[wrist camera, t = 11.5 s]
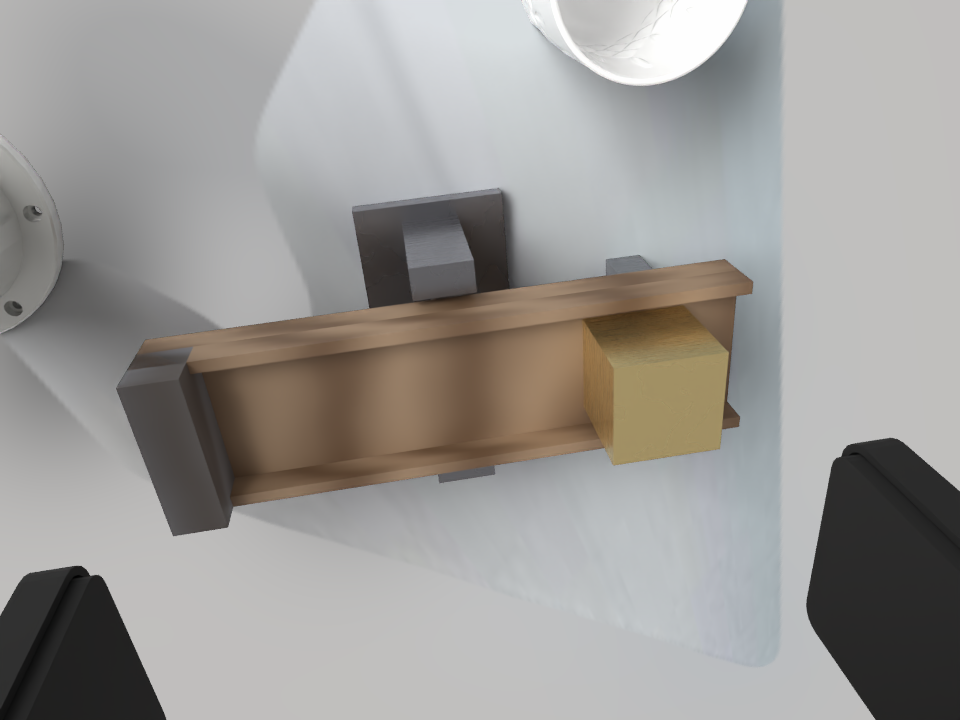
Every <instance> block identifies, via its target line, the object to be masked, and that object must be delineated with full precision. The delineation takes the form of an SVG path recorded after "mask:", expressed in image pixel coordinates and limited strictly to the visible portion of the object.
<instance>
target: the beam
mask: <svg viewBox="0 0 960 720" xmlns="http://www.w3.org/2000/svg"><path fill="white" fill-rule="evenodd" d="M752 288H753V281H752V280H750V279H749V278H748V277H747V276H745V275H744V274H743V273H741V272H740V271H739V270H738V269H736V268H735V267H734V266H733V265H731V264H730V263H729V262H728V261H726V260H725V259H723V260H716V261H709V262H701V263H694V264H687V265H680V266H673V267H665V268H658V269H651V270H644V271H637V272H629V273H622V274H615V275H608V276H601V277H593V278H586V279H579V280H572V281H565V282H558V283H550V284H543V285H536V286H529V287H522V288H514V289H507V290H500V291H493V292H486V293H478V294H471V295H464V296H456V295H455V296H447V297H440V298H433V299H431V300H428V301H421V302H414V303H407V304H399V305H392V306H385V307H378V308H371V309H363V310H356V311H349V312H342V313H335V314H327V315H320V316H313V317H306V318H299V319H291V320H285V321H278V322H270V323H263V324H256V325H248V326H241V327H234V328H227V329H220V330H212V331H205V332H198V333H191V334H184V335H176V336H169V337H162V338H155V339H148V340H145V341H144V343H143V344H142V346H141V348H140V349H139V351H138V353H137V354H136V356H135V358H134V359H133V361H132V363H131V364H130V366H129V368H128V369H127V371H126V373H125V374H124V376H123V378H122V379H121V381H120V383H119V384H118V386H117V388H116V389H117V392H118V394H119V397H120V400H121V402H122V405H123V407H124V410H125V413H126V415H127V418H128V420H129V423H130V426H131V428H132V431H133V433H134V436H135V438H136V441H137V444H138V446H139V449H140V451H141V454H142V457H143V459H144V462H145V464H146V467H147V470H148V472H149V475H150V477H151V480H152V483H153V485H154V488H155V490H156V493H157V496H158V498H159V501H160V503H161V506H162V508H163V511H164V514H165V516H166V519H167V521H168V524H169V527H170V529H171V532H172V534H173V536H177V535H183V534H190V533H196V532H202V531H209V530H215V529H221V528H227V527H228V525H229V521H230V517H231V513H232V509H233V507H234V506H241V505H247V504H253V503H260V502H266V501H272V500H279V499H285V498H291V497H298V496H304V495H310V494H316V493H323V492H329V491H335V490H342V489H348V488H354V487H361V486H367V485H373V484H380V483H386V482H392V481H399V480H405V479H411V478H418V477H424V476H430V475H437V474H443V473H449V472H455V471H462V470H468V469H474V468H481V467H487V466H493V465H500V464H506V463H512V462H519V461H525V460H531V459H538V458H544V457H550V456H557V455H563V454H569V453H576V452H582V451H588V450H594V449H601V448H604V446H603V444H602V442H601V440H600V438H599V436H598V434H597V432H596V430H595V428H594V426H593V424H592V422H591V420H590V418H589V416H588V414H587V412H586V410H585V408H584V381H583V323H582V319H586V318H594V317H601V316H608V315H615V314H623V313H630V312H637V311H645V310H652V309H659V308H666V307H674V306H681V305H684V306H685V307H686V308H687V309H688V310H689V311H690V312H691V314H692V315H693V316H694V317H695V318H696V319H697V320H698V321H699V322H700V323H701V324H702V325H703V326H704V327H705V328H706V329H707V330H708V331H709V332H710V333H711V334H712V335H713V336H714V337H715V338H716V339H717V341H718V342H719V343H720V344H721V345H722V346H723V347H724V348H725V349H726V350H727V351H728V352H729V356H728V367H727V378H726V389H725V400H724V411H723V421H722V429H727V428H734V427H739V421H740V416H739V415H738V414H737V413H736V412H735V410H734V409H733V408H732V407H731V406H730V404H729V403H728V402H727V396H728V385H729V373H730V362H731V350H732V338H733V327H734V315H735V304H736V296H740V295H747V294H752Z"/></svg>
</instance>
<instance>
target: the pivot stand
mask: <svg viewBox="0 0 960 720" xmlns="http://www.w3.org/2000/svg"><path fill="white" fill-rule="evenodd" d="M352 213H353V218H354V224H355V230H356V235H357V241H358V246H359V252H360V258H361V263H362V269H363V274H364V280H365V285H366V291H367V297H368V302H369V308H370V309H371V308H378V307H385V306H392V305H399V304H407V303H414V302H421V301H428V300H431V299H433V298H440V297H447V296H455V295H456V296H464V295H471V294H478V293H486V292H493V291H500V290H507V289H509V281H508V268H507V255H506V242H505V229H504V216H503V203H502V193H501V191H500V189H499V188H497V189H489V190H481V191H473V192H465V193H457V194H450V195H442V196H434V197H426V198H418V199H410V200H402V201H394V202H386V203H378V204H371V205H363V206H355V207H353V210H352ZM494 474H495V469H494V465H493V466H487V467H481V468H474V469H468V470H462V471H455V472H449V473H443V474H438V476H439V483H443V482H449V481H456V480H462V479H468V478H475V477H481V476H488V475H494Z"/></svg>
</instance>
